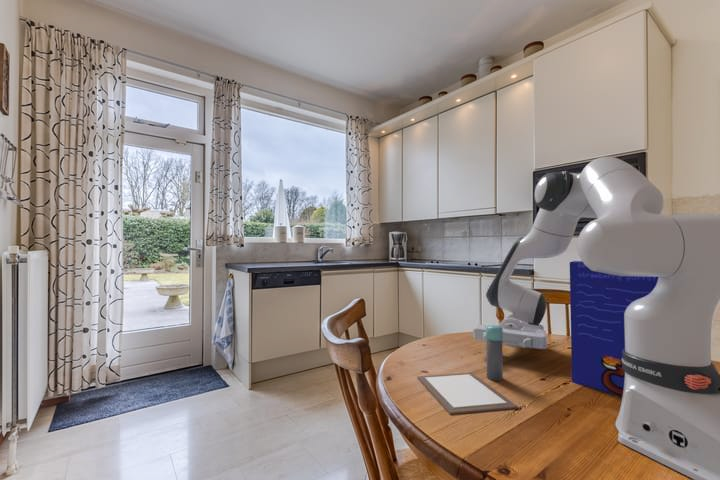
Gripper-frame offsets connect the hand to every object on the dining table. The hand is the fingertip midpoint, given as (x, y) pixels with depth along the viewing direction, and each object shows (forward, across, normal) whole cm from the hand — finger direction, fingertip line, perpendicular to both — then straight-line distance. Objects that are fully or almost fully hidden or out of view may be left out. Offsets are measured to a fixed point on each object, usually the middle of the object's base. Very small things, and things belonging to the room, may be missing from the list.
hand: (503, 341), depth 93 cm
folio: (+23, -4, +7) cm, 24 cm away
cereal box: (+2, +28, +7) cm, 29 cm away
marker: (+10, 0, +7) cm, 12 cm away
